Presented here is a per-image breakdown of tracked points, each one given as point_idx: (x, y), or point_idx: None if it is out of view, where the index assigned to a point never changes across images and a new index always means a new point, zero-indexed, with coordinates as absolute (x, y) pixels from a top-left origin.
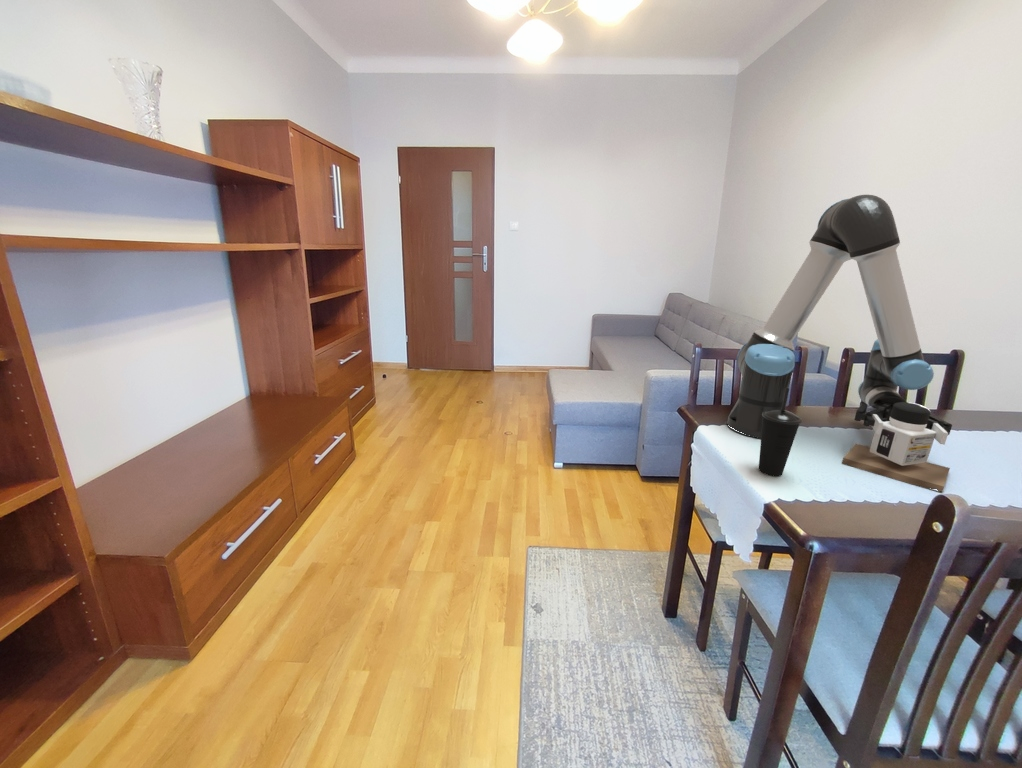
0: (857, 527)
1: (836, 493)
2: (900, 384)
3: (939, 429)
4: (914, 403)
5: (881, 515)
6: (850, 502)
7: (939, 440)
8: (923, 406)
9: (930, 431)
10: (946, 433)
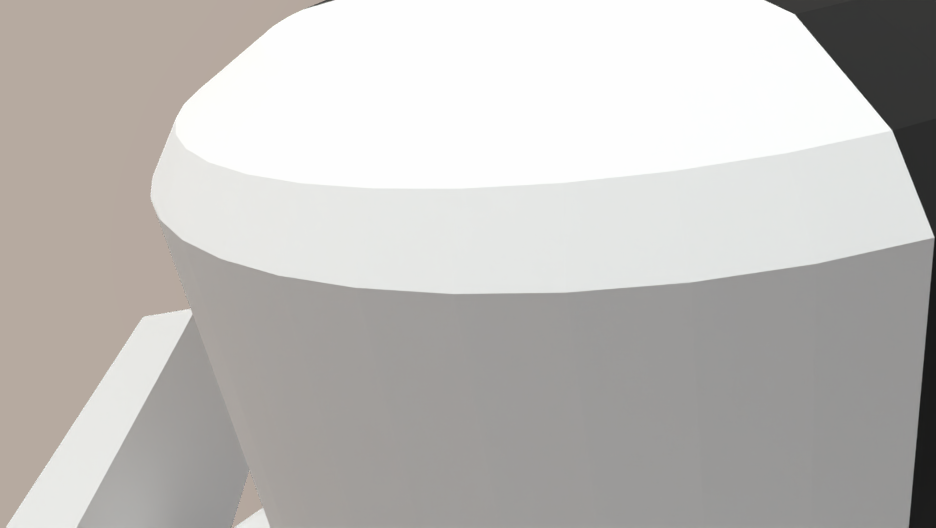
0: None
1: None
2: None
3: (141, 432)
4: (502, 44)
5: None
6: None
7: (230, 467)
8: (311, 20)
9: (257, 520)
10: (167, 318)
